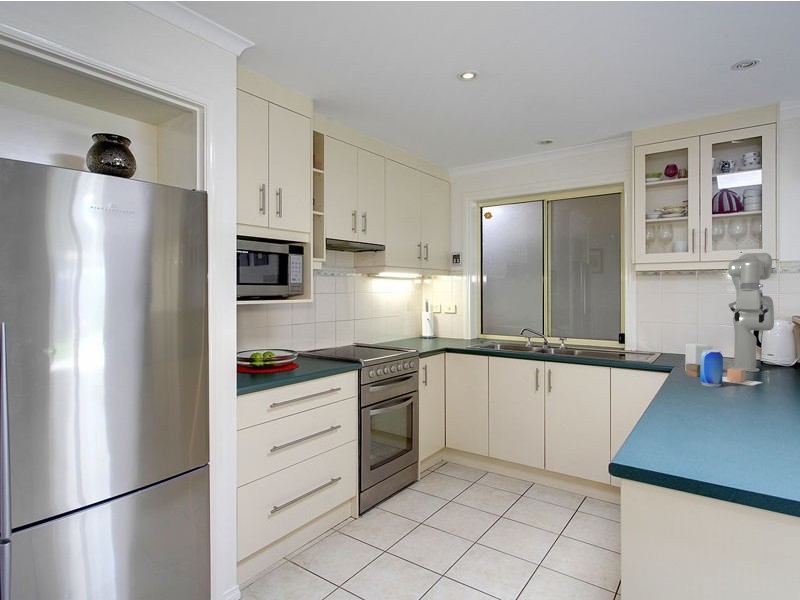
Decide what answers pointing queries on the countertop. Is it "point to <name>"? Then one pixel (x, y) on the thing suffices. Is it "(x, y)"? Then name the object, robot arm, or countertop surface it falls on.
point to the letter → (746, 382)
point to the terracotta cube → (736, 374)
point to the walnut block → (693, 370)
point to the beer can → (711, 368)
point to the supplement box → (695, 353)
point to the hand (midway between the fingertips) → (748, 321)
